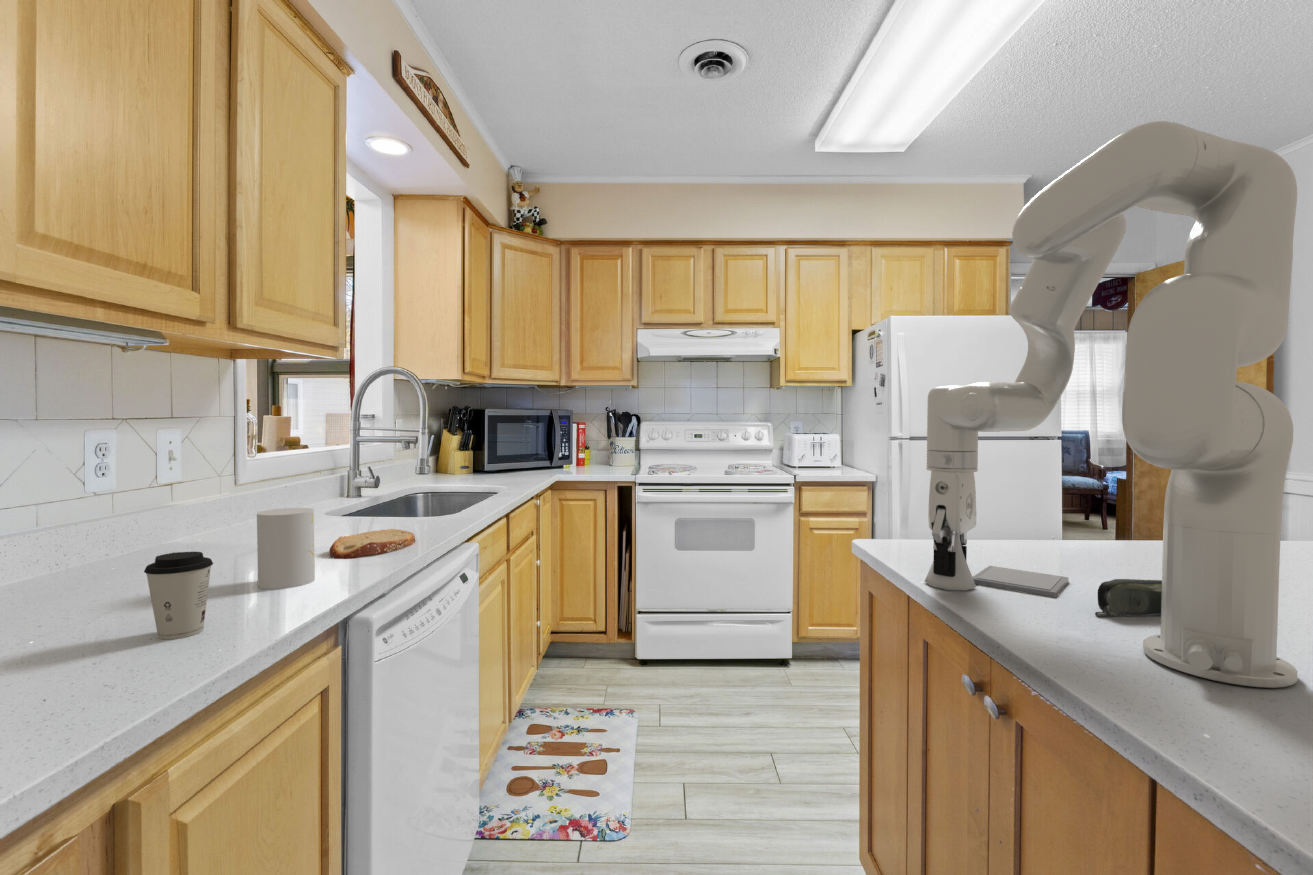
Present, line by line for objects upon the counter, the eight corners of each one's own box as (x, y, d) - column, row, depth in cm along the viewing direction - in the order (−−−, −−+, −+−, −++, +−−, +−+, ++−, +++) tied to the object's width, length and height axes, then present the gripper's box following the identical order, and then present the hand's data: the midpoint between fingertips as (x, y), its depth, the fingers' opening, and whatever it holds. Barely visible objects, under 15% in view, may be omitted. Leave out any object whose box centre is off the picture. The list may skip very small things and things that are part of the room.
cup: (324, 580, 103) (323, 510, 102) (273, 591, 96) (272, 516, 96) (299, 573, 107) (297, 506, 107) (248, 584, 100) (247, 512, 100)
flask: (916, 581, 102) (916, 522, 102) (950, 578, 104) (951, 520, 104) (948, 593, 95) (949, 530, 95) (985, 589, 97) (986, 528, 97)
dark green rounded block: (1180, 577, 88) (1085, 577, 86) (1201, 583, 85) (1103, 583, 83) (1178, 611, 88) (1084, 612, 86) (1199, 618, 85) (1101, 619, 83)
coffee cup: (227, 626, 80) (226, 551, 80) (173, 645, 73) (171, 563, 73) (188, 621, 82) (186, 548, 82) (131, 639, 75) (129, 559, 75)
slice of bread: (409, 537, 142) (409, 521, 142) (428, 551, 127) (428, 533, 127) (322, 546, 132) (322, 529, 132) (332, 562, 117) (332, 543, 117)
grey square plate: (1055, 597, 93) (1055, 591, 93) (970, 583, 101) (970, 577, 101) (1068, 582, 102) (1068, 576, 102) (989, 569, 110) (989, 565, 110)
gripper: (960, 465, 90) (958, 586, 91) (991, 460, 103) (989, 566, 103) (909, 463, 95) (907, 577, 96) (944, 458, 108) (942, 559, 108)
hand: (950, 570), depth 99 cm, fingers closed on flask, 5 cm apart
